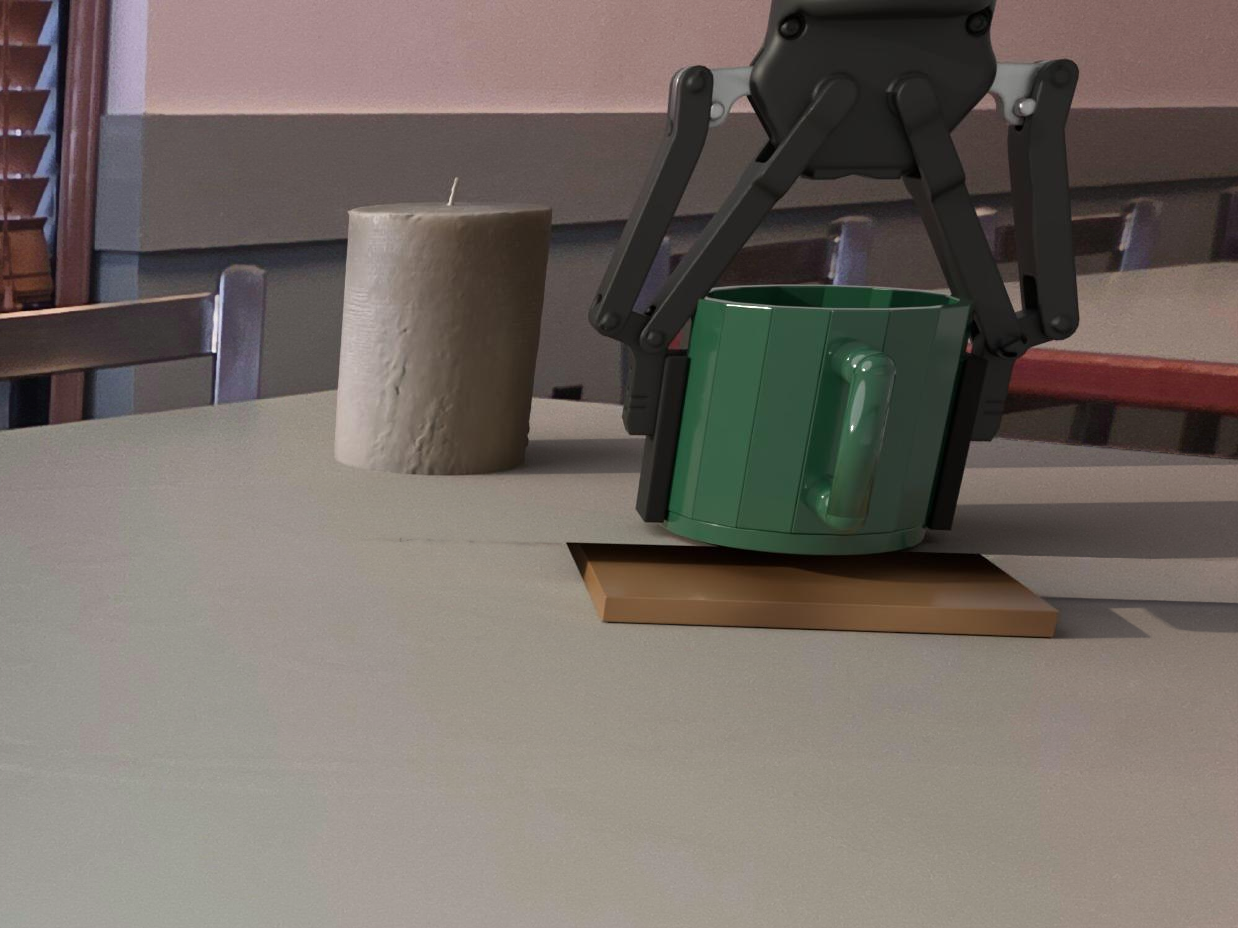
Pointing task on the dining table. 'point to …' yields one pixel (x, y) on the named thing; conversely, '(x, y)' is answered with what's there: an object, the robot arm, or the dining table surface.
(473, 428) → the pillar candle
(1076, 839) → the dining table surface
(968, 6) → the robot arm
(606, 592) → the trivet
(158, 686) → the dining table surface
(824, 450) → the mug
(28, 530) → the dining table surface
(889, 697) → the dining table surface
